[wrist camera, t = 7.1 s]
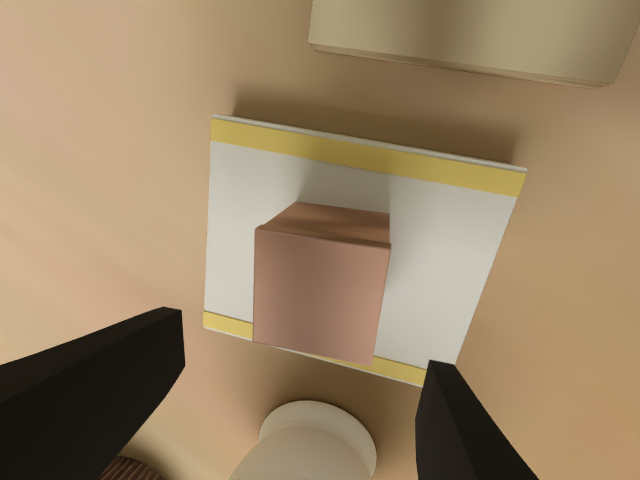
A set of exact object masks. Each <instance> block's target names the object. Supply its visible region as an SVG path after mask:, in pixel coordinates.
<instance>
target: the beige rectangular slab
mask: <svg viewBox="0 0 640 480" xmlns="http://www.w3.org/2000/svg"><path fill="white" fill-rule="evenodd" d="M639 23H640V0H313V3H312V11H311V19H310V27H309V35H308V44H309V45H310V46H311V47H312V48H313V49H314V50H315V51H320V52H328V53H335V54H342V55H349V56H357V57H364V58H371V59H378V60H386V61H393V62H400V63H407V64H415V65H422V66H429V67H436V68H444V69H451V70H458V71H465V72H473V73H480V74H487V75H495V76H502V77H509V78H516V79H524V80H531V81H538V82H545V83H553V84H560V85H567V86H574V87H582V88H589V89H592V88H597V87H602V86H606V85H611V84H614V82H615V80H616V77H617V75H618V73H619V70H620V68H621V66H622V63H623V61H624V59H625V56H626V54H627V51H628V49H629V47H630V44H631V42H632V40H633V37H634V35H635V33H636V30H637V28H638V26H639Z"/></svg>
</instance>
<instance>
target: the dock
mask: <svg viewBox="0 0 640 480" xmlns="http://www.w3.org/2000/svg"><path fill="white" fill-rule="evenodd" d="M210 140H211V156H210V181H209V206H208V232H207V257H206V282H205V307H204V311H203V326H204V328H207V329H210V330H214V331H218V332H221V333H225V334H229V335H232V336H236V337H239V338H243V339H247V340H250V341H252V338H253V286H254V234H255V228H257V227H258V226H259V225H261V224H263V225H264V224H265V223H267V222H268V221H270V220H271V219H272V218H274V217H275V216H276V215H278V214H279V213H280V212H282V211H283V210H285V209H286V208H287V207H289V206H290V205H291V204H293V203H294V202H295V201H297V202H305V203H313V204H320V205H328V206H336V207H343V208H351V209H358V210H366V211H374V212H381V213H389V214H390V243H391V254H390V260H389V266H388V272H387V278H386V284H385V290H384V296H383V302H382V307H381V313H380V319H379V325H378V331H377V337H376V343H375V349H374V355H373V361H372V366H371V367H370V366H365V365H360V364H356V363H351V362H346V361H341V360H337V359H332V358H327V357H322V356H317V355H313V354H308V353H303V352H298V351H294V350H289V349H284V348H280V349H283V350H287V351H291V352H294V353H298V354H302V355H305V356H309V357H313V358H316V359H320V360H323V361H327V362H331V363H334V364H338V365H342V366H345V367H349V368H353V369H356V370H360V371H364V372H367V373H371V374H375V375H378V376H382V377H386V378H389V379H393V380H397V381H400V382H404V383H408V384H411V385H415V386H418V387H422V388H423V384H424V380H425V376H426V371H427V367H428V363H429V359H430V360H435V361H440V362H445V363H450V364H454V365H455V363H456V360H457V357H458V355H459V352H460V349H461V347H462V344H463V341H464V339H465V336H466V333H467V331H468V328H469V325H470V323H471V320H472V317H473V314H474V312H475V309H476V306H477V304H478V301H479V298H480V296H481V293H482V290H483V288H484V285H485V282H486V280H487V277H488V274H489V272H490V269H491V266H492V264H493V261H494V258H495V256H496V253H497V250H498V248H499V245H500V242H501V240H502V237H503V234H504V232H505V229H506V226H507V224H508V221H509V218H510V216H511V213H512V210H513V208H514V205H515V202H516V200H517V197H519V194H520V192H521V189H522V186H523V184H524V181H525V178H526V176H527V174H526V173H527V170H528V168H524V167H520V166H517V165H513V164H508V163H502V162H496V161H491V160H485V159H479V158H473V157H468V156H462V155H456V154H450V153H444V152H439V151H433V150H427V149H421V148H415V147H410V146H404V145H398V144H392V143H387V142H381V141H375V140H369V139H363V138H358V137H352V136H346V135H340V134H334V133H329V132H323V131H317V130H311V129H306V128H300V127H294V126H288V125H282V124H277V123H271V122H265V121H259V120H253V119H248V118H242V117H236V116H229V115H219V114H212V118H211V128H210ZM269 346H270V345H269ZM272 347H274V346H272ZM276 348H279V347H276Z"/></svg>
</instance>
